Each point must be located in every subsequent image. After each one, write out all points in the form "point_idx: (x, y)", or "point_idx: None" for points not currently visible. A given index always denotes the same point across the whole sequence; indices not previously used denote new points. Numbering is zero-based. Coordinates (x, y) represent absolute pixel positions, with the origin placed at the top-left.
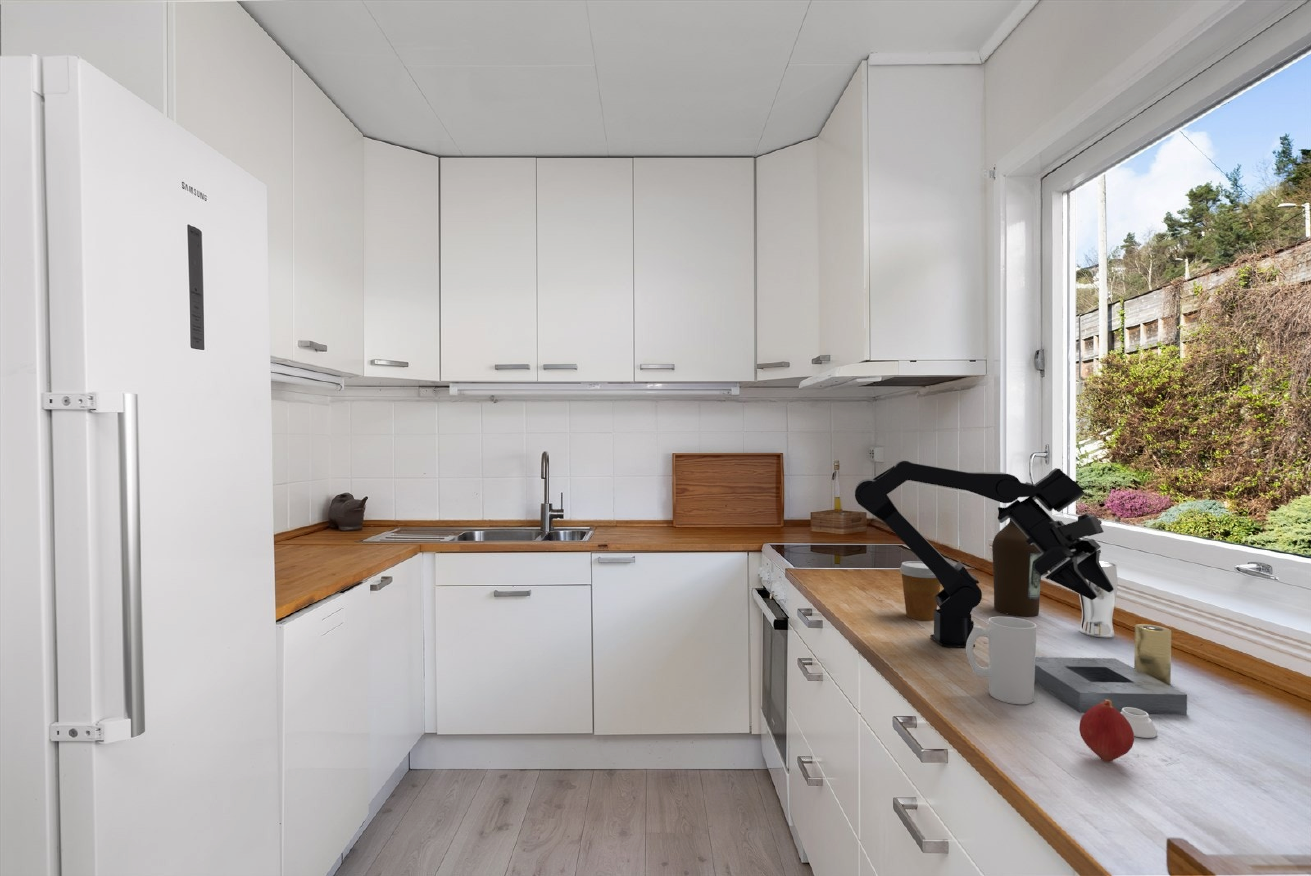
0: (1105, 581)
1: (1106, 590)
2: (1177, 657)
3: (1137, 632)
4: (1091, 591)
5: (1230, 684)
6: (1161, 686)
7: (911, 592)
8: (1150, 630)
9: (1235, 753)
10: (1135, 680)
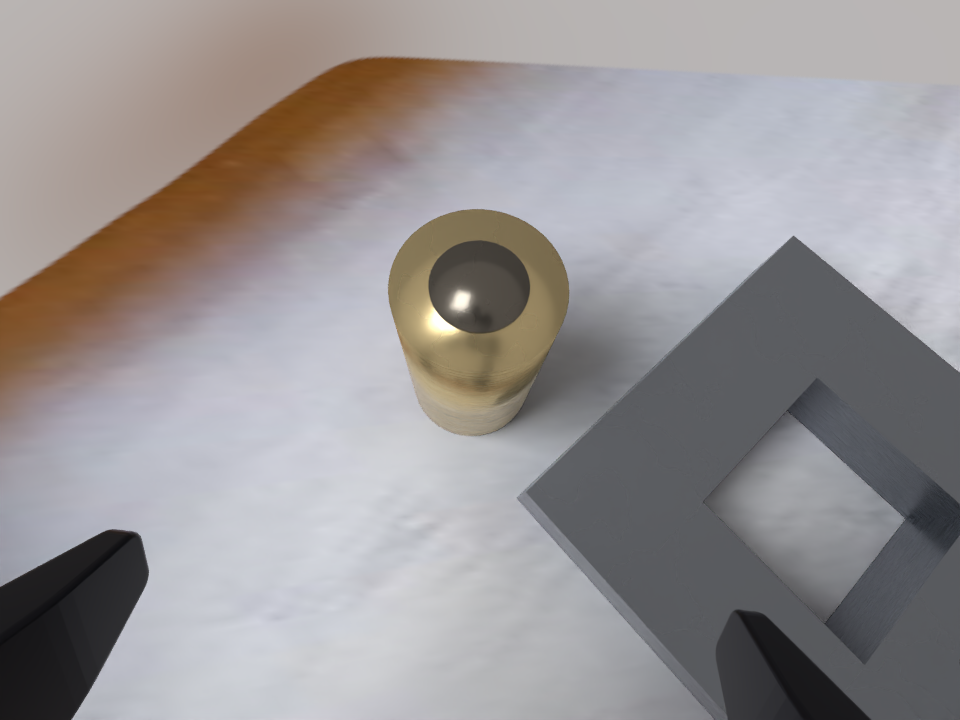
0: (39, 643)
1: (126, 608)
2: (49, 333)
3: (531, 363)
4: (830, 681)
5: (322, 185)
6: (778, 303)
7: None
8: (549, 291)
9: (942, 174)
10: (789, 381)
